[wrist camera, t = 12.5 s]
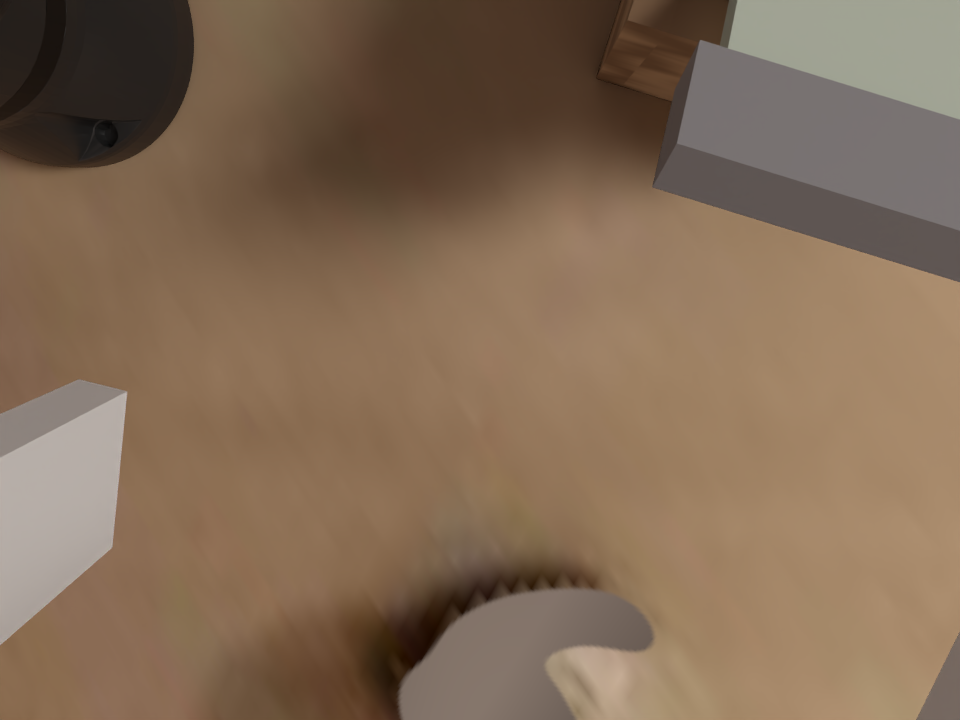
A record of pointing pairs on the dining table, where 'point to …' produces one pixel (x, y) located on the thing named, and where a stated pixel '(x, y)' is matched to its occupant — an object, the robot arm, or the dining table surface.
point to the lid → (828, 124)
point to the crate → (658, 42)
